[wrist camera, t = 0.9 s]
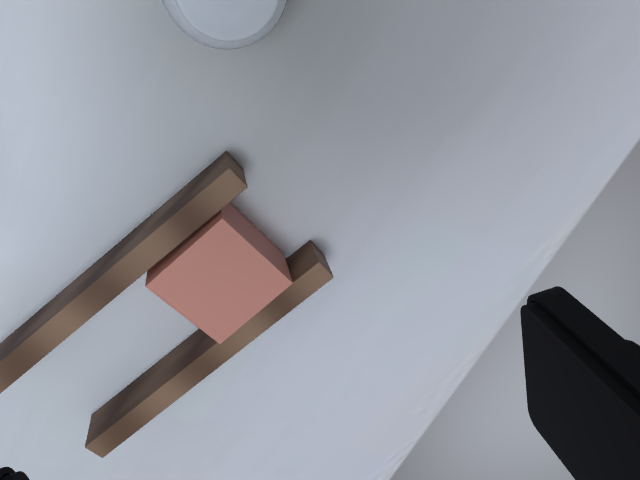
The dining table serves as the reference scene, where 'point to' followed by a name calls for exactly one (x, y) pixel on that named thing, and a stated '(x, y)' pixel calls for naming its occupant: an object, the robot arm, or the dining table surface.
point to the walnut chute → (126, 267)
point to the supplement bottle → (225, 20)
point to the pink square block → (221, 274)
